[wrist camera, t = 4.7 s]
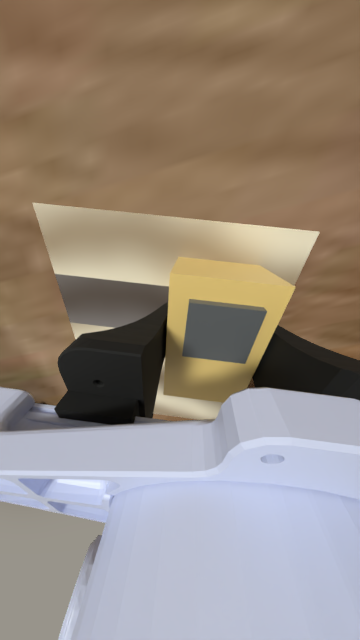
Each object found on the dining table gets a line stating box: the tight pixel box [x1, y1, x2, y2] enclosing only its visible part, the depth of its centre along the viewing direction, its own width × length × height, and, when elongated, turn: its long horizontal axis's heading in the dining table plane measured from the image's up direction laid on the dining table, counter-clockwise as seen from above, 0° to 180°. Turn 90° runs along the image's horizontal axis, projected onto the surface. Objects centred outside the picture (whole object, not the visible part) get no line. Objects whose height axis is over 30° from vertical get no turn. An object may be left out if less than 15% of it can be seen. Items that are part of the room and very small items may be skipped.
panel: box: [33, 203, 319, 420], centre depth 14 cm, size 20×16×1 cm
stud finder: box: [163, 257, 296, 403], centre depth 10 cm, size 8×5×4 cm, turn 175°
